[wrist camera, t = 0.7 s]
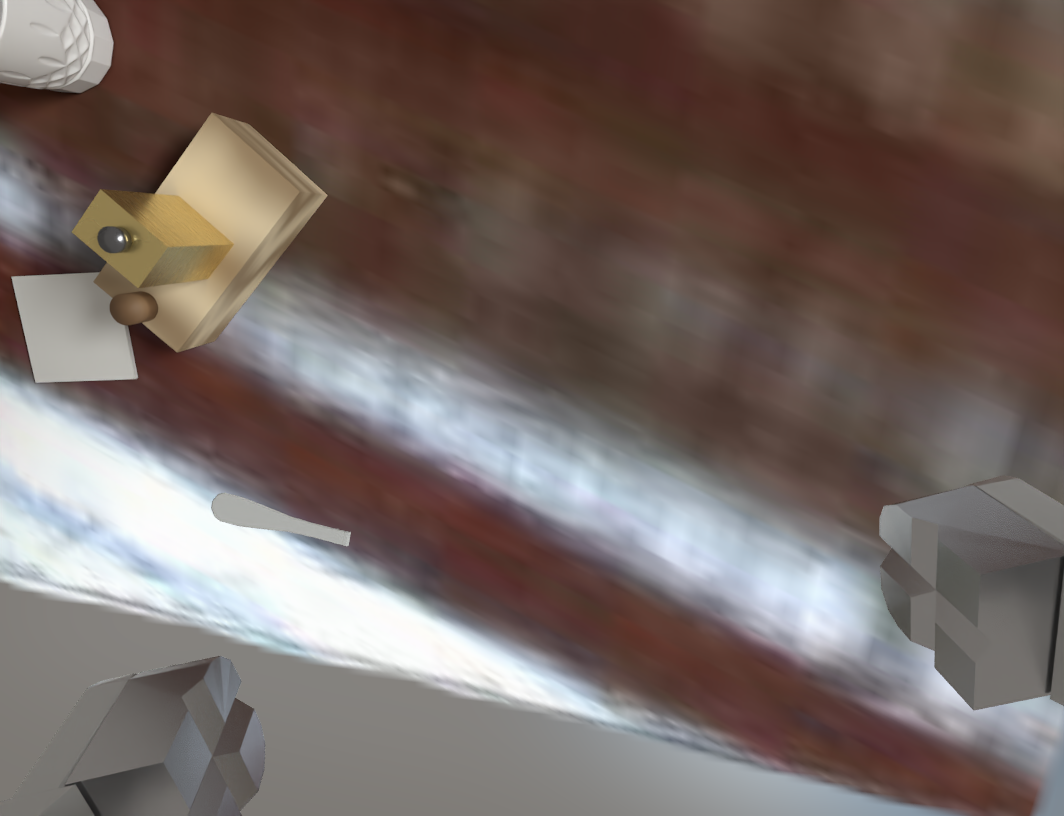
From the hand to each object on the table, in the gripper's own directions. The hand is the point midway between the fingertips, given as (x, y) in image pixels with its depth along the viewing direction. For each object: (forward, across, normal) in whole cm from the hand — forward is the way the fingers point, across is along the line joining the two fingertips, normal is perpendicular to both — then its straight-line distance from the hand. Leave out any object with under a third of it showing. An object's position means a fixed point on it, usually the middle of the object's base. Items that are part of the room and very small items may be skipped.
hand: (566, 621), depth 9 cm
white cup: (+50, +25, -17) cm, 58 cm away
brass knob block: (+41, +18, -3) cm, 45 cm away
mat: (+47, +31, +2) cm, 57 cm away
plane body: (+46, +18, -2) cm, 49 cm away
